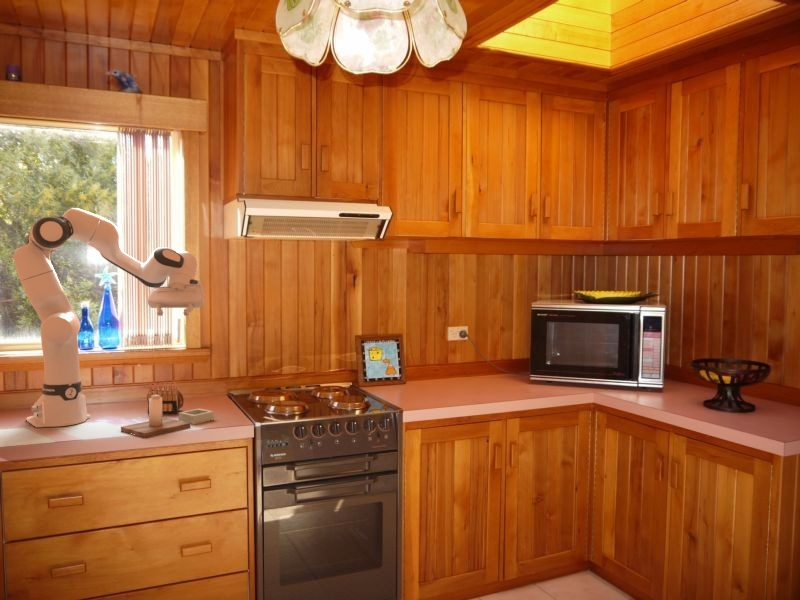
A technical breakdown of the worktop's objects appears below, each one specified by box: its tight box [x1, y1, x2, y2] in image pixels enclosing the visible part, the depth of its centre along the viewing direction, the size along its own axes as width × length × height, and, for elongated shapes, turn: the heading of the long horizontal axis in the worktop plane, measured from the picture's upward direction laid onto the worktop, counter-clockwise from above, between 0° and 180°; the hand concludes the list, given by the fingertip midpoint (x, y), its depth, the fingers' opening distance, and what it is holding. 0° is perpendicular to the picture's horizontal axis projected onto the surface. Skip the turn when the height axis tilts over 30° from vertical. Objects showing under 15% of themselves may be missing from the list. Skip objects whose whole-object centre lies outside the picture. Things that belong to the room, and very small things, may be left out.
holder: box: [178, 408, 215, 425], centre depth 231 cm, size 9×9×3 cm
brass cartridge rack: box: [146, 387, 185, 411], centre depth 248 cm, size 15×3×8 cm, turn 72°
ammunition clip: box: [147, 381, 179, 415], centre depth 242 cm, size 11×2×12 cm, turn 95°
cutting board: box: [120, 416, 191, 439], centre depth 219 cm, size 14×17×2 cm
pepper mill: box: [148, 395, 163, 426], centre depth 218 cm, size 4×4×10 cm
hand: (172, 314), depth 237 cm, fingers open, 8 cm apart
